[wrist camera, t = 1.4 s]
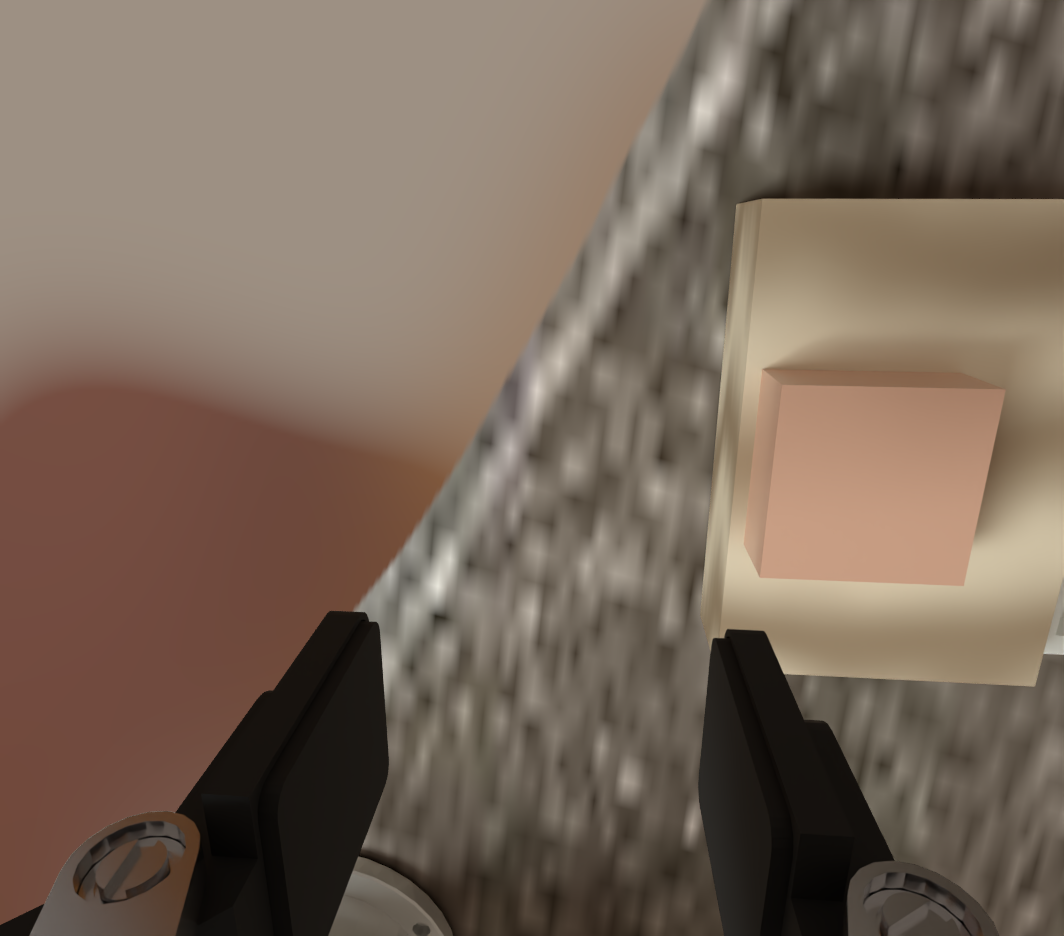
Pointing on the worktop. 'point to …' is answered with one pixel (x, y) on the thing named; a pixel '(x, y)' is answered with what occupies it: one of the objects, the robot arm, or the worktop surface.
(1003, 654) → the beige rectangular block
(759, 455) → the tile
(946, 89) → the worktop surface
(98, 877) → the robot arm
